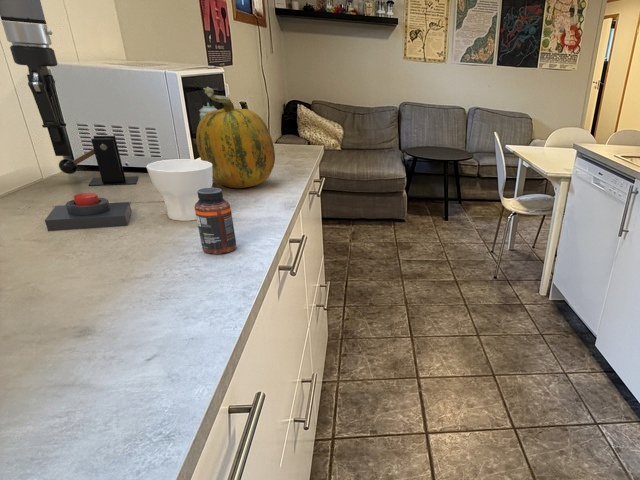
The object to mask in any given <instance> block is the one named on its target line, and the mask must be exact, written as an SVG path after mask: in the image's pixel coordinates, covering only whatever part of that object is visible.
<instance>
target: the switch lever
mask: <svg viewBox="0 0 640 480" xmlns="http://www.w3.org/2000/svg"><path fill="white" fill-rule="evenodd" d="M104 139H107V137H106V138H104ZM92 156H95V152H94V149H93V148H92V149H90V150H89V151H87V152H85V153H84V154H82V155H80V156H78V157H77V158H75V159H70V158H62V159H61V160H60V161H59V162H58V168H59V170H60V171H61V172H62V173H64V174H67V175H73V174H75V173H76V172H77V171H78V167H79V166H78V164H80V163H82V162H83V161H86V160H87V159H88V158H89V159H90V157H92Z"/></svg>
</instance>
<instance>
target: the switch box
mask: <svg viewBox="0 0 640 480" xmlns="http://www.w3.org/2000/svg"><path fill="white" fill-rule="evenodd" d="M98 198H99V203H97V204H92V205H76V204H75V201H74V199H72V200H69V201H67V202H65V204H64V205H61V204H60V205H55V206H54V207H53V208H52V210H51V211H50V213H48V215H47V216H46V218H45V219H44V223H45V226H46V229H47V231H48V232H55V231H71V230H72V231H73V230H85V229H101V228H112V227H113V228H115V227H128V225H129V222H130V219H131V215H132V212H133V211H132V208H131V204H130V201H122V202H119V201H118V202H110V201H109V199H107V198H105V197H98Z"/></svg>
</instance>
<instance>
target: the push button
mask: <svg viewBox="0 0 640 480" xmlns="http://www.w3.org/2000/svg"><path fill="white" fill-rule="evenodd" d="M99 198H100V197H99V195H98V194H97V193H94V192H84V193H77V194H75V195H73V200H74V201H75V204H76V205H92V204H97V203H99Z"/></svg>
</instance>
